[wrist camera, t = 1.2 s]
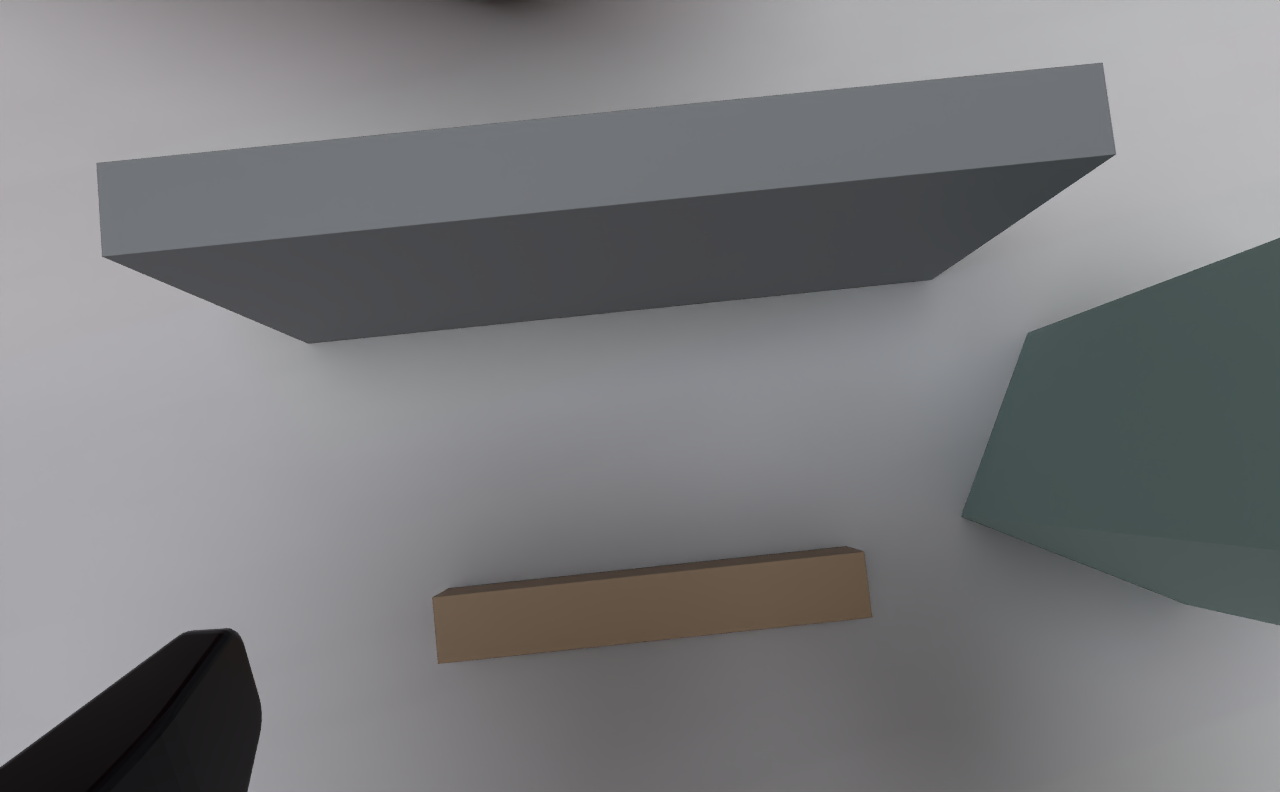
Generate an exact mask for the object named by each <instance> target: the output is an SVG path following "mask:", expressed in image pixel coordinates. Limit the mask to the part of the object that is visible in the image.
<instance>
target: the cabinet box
mask: <svg viewBox="0 0 1280 792" xmlns="http://www.w3.org/2000/svg"><path fill="white" fill-rule="evenodd" d="M962 517H965V518H967V519H970V520H972V521H975V522H977V523H980V524H983V525H985V526H988V527H990V528H993V529H995V530H998V531H1000V532H1003V533H1005V534H1008V535H1011V536H1013V537H1016V538H1018V539H1021V540H1023V541H1026V542H1028V543H1031V544H1034V545H1036V546H1039V547H1041V548H1044V549H1046V550H1049V551H1051V552H1054V553H1057V554H1059V555H1062V556H1064V557H1067V558H1069V559H1072V560H1074V561H1077V562H1080V563H1082V564H1085V565H1087V566H1090V567H1092V568H1095V569H1097V570H1100V571H1102V572H1105V573H1108V574H1110V575H1113V576H1115V577H1118V578H1120V579H1123V580H1125V581H1128V582H1131V583H1133V584H1136V585H1138V586H1141V587H1143V588H1146V589H1148V590H1151V591H1154V592H1156V593H1159V594H1161V595H1164V596H1166V597H1169V598H1171V599H1174V600H1177V601H1179V602H1182V603H1184V604H1187V605H1191V606H1196V607H1200V608H1205V609H1209V610H1214V611H1218V612H1223V613H1227V614H1231V615H1236V616H1240V617H1245V618H1249V619H1254V620H1258V621H1263V622H1267V623H1272V624H1276V625H1280V238H1278V239H1276V240H1273V241H1270V242H1268V243H1265V244H1262V245H1260V246H1257V247H1254V248H1252V249H1249V250H1247V251H1244V252H1241V253H1239V254H1236V255H1233V256H1231V257H1228V258H1225V259H1223V260H1220V261H1217V262H1215V263H1212V264H1209V265H1207V266H1204V267H1201V268H1199V269H1196V270H1194V271H1191V272H1188V273H1186V274H1183V275H1180V276H1178V277H1175V278H1172V279H1170V280H1167V281H1164V282H1162V283H1159V284H1156V285H1154V286H1151V287H1149V288H1146V289H1143V290H1141V291H1138V292H1135V293H1133V294H1130V295H1127V296H1125V297H1122V298H1119V299H1117V300H1114V301H1111V302H1109V303H1106V304H1103V305H1101V306H1098V307H1096V308H1093V309H1090V310H1088V311H1085V312H1082V313H1080V314H1077V315H1074V316H1072V317H1069V318H1066V319H1064V320H1061V321H1058V322H1056V323H1053V324H1050V325H1048V326H1045V327H1043V328H1040V329H1037V330H1035V331H1032V332H1029V333H1028V334H1027V337H1026V340H1025V343H1024V345H1023V348H1022V351H1021V354H1020V356H1019V359H1018V362H1017V365H1016V367H1015V370H1014V373H1013V376H1012V378H1011V381H1010V384H1009V387H1008V389H1007V392H1006V395H1005V398H1004V400H1003V403H1002V406H1001V409H1000V411H999V414H998V417H997V420H996V422H995V425H994V428H993V431H992V433H991V436H990V439H989V442H988V444H987V447H986V450H985V453H984V455H983V458H982V461H981V464H980V466H979V469H978V472H977V475H976V477H975V480H974V483H973V486H972V488H971V491H970V494H969V497H968V499H967V502H966V505H965V508H964V510H963V513H962Z"/></svg>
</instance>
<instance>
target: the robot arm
mask: <svg viewBox="0 0 1280 792" xmlns="http://www.w3.org/2000/svg"><path fill="white" fill-rule="evenodd" d="M261 722H262V711H261V703H260V699H259V695H258V692H257V688H256V685H255V681H254V678H253V674H252V671H251V667H250V664H249V660H248V657H247V653H246V650H245V646H244V643H243V641H242V639H241V637H240V635H239V634H238V633H237V632H236V631H234V630H232V629H229V628H224V629H207V630H193V631H187V632H185V633H182V634H181V635H179V636H178V637H176V638H175V639H173V640H172V641H171V642H169V643H168V644H167V645H165V646H164V647H163V648H161V649H160V650H159V651H157V652H156V653H155V654H153V655H152V656H150V657H149V658H148V659H146V660H145V661H144V662H142V663H141V664H140V665H138V666H137V667H136V668H134V669H133V670H131V671H130V672H129V673H127V674H126V675H125V676H123V677H122V678H121V679H119V680H118V681H117V682H115V683H114V684H113V685H111V686H110V687H108V688H107V689H106V690H104V691H103V692H102V693H100V694H99V695H98V696H96V697H95V698H94V699H92V700H91V701H90V702H88V703H87V704H85V705H84V706H83V707H81V708H80V709H79V710H77V711H76V712H75V713H73V714H72V715H71V716H69V717H68V718H66V719H65V720H64V721H62V722H61V723H60V724H58V725H57V726H56V727H54V728H53V729H52V730H50V731H49V732H48V733H46V734H45V735H43V736H42V737H41V738H39V739H38V740H37V741H35V742H34V743H33V744H31V745H30V746H29V747H27V748H26V749H24V750H23V751H22V752H20V753H19V754H18V755H16V756H15V757H14V758H12V759H11V760H10V761H8V762H7V763H6V764H4V765H3V766H1V767H0V792H247V791H248V786H249V782H250V777H251V773H252V768H253V764H254V759H255V754H256V750H257V745H258V741H259V736H260V731H261Z"/></svg>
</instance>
